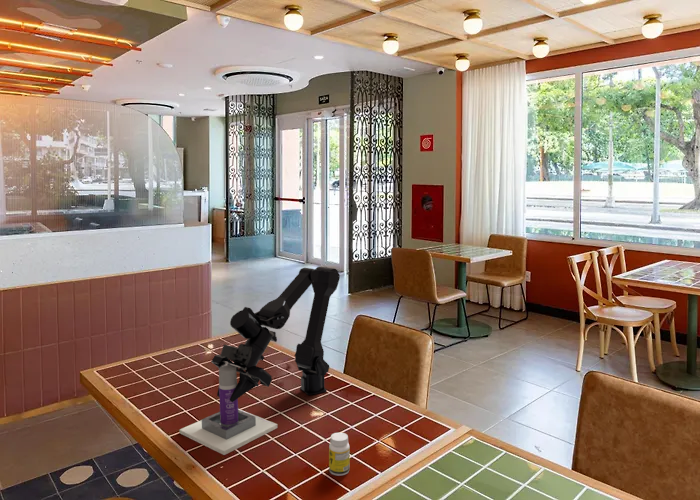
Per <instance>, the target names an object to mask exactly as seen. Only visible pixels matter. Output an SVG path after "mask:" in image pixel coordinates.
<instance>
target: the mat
mask: <svg viewBox="0 0 700 500" xmlns="http://www.w3.org/2000/svg"><path fill="white" fill-rule="evenodd" d="M238 410H240V411H243V412H245V413H248V414H250V415H253V416H255V417H256V426H254V427H252V428H250V429H247V430H245V431H243V432H241V433H239V434H237V435H235V436H233V437H231V438H229V439H227V440H226V439H224V438H221V437H219V436H217V435H215V434H213V433H211V432H209V431H206V430H204V429H202V419H201V420H198V421H196V422H194V423H191V424H189V425H187V426H185V427H182V428H180V429H179V434H181V435H183V436H184V437H186V438H189V439H191V440H192V441H195V442H196V443H199V444H200V445H202V446H205V447H206V448H209V449H210V450H212V451H215V452H217V453H219V454H221V455H223V456H226V455H227V454H229V453H231V452H233V451H235V450H237V449H239V448H241V447H243V446H245V445H247V444H248V443H251V442H252V441H254V440H256V439H258V438H261V437H263V436H264V435H267V434H268V433H271V432H272V431H274V430H276V429H278V423H275V422H273V421H270V420H267V419H266V418H263V417H260V416H258V415H255V414H253V413H250V412H247V411H244V409H243V410H242V409H240V408H238ZM238 422H239V421H238ZM219 424H220V425H221V423H219ZM225 427H226V426H225Z"/></svg>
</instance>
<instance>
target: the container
mask: <svg viewBox="0 0 700 500" xmlns="http://www.w3.org/2000/svg"><path fill="white" fill-rule="evenodd" d="M237 373H238V372H236V367H235V366H230V365H229V366H223V367H220V368H218V388H219V412H220V423H221V425H223V426H226V427H229V426H231V425H233V424H235V423H237V422H238V409H239V398H238V399H236V400H235V401H234V402H231V401H230V398H231V395H232V393H233V391H234V390H235V388H236V386H237V384H238V376H237V375H238V374H237Z"/></svg>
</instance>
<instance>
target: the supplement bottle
mask: <svg viewBox="0 0 700 500" xmlns="http://www.w3.org/2000/svg"><path fill="white" fill-rule="evenodd" d="M350 453H351V451H350V444H349V436H348V434H347V433H345V432H334V433H332V434H331V435H330V443H329V445H328V471H329V473H330V474H331V475H333V476H338V477H340V476H345V475H347V474H349V471H350V469H351V468H350V467H351V466H350V462H351V461H350V455H351V454H350Z"/></svg>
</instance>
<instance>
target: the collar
mask: <svg viewBox="0 0 700 500" xmlns="http://www.w3.org/2000/svg"><path fill="white" fill-rule="evenodd" d="M240 410H241V409H240ZM240 410H238V421H239V422H237V423H235V424H233V425H231V426H229V427H225V426H223V425H220V424H219V423H220V411H218V412H216V413H213V414H211V415H209V416H206V417H204V418H202V419H201V420H202V429H204V430H206V431H209V432H211V433H213V434H215V435H217V436H219V437H221V438H224V439H226V440H227V439H229V438H231V437H233V436H235V435H237V434H239V433H241V432H243V431H245V430H247V429H250V428H252V427H254V426H256V417H255V416H256V415H255V416H253V415H254V414H253V415H250V414H251V413H250V414H248V413H249V412H248V413H245V412H246V411H245V412H243V411H244V410H243V411H240Z"/></svg>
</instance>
